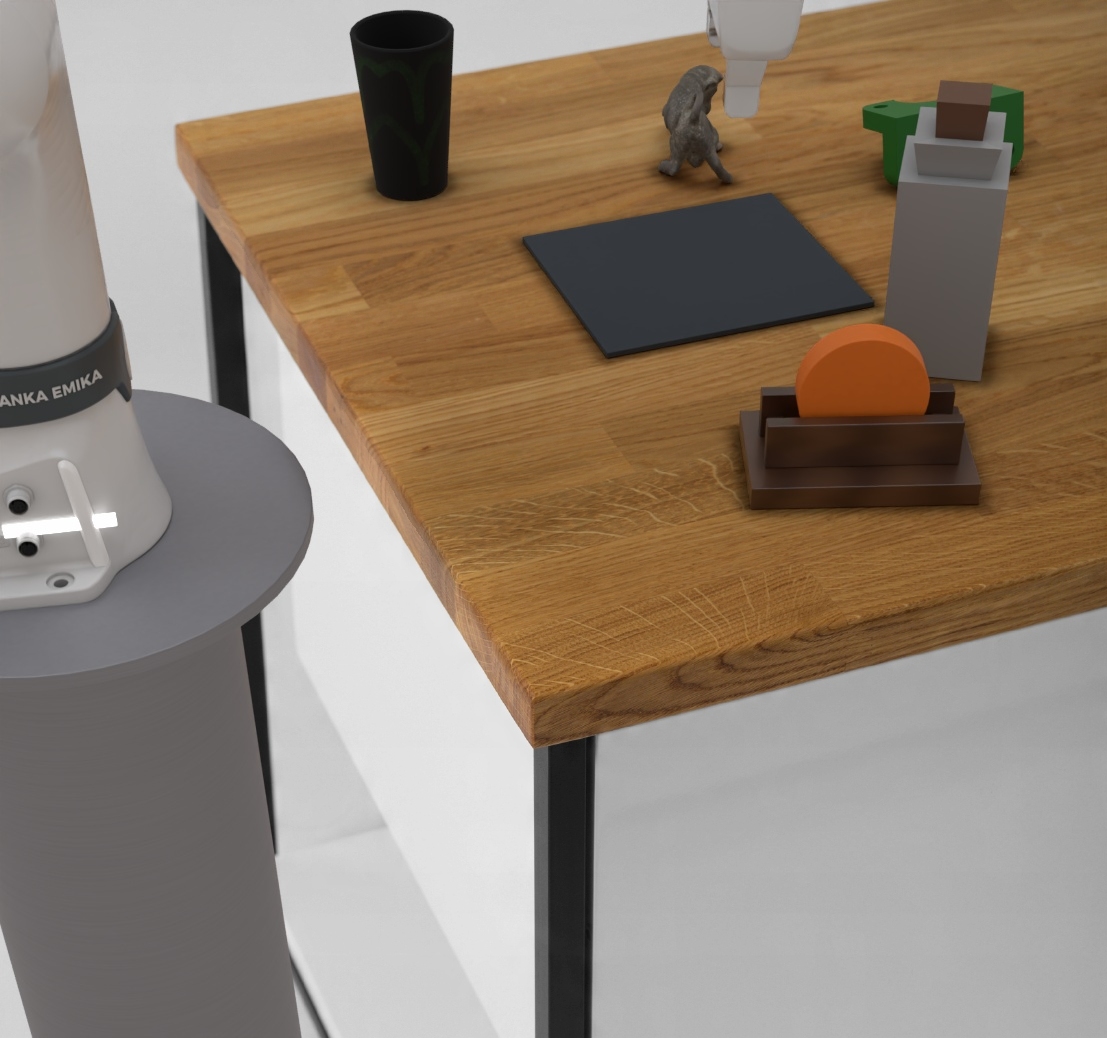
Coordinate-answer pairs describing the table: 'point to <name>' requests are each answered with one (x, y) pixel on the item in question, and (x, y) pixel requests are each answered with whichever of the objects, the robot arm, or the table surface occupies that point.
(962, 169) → the perfume bottle
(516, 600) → the table surface
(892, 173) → the clamp
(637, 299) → the mat
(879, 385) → the disc
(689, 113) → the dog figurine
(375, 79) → the cup
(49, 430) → the robot arm
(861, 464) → the rack
